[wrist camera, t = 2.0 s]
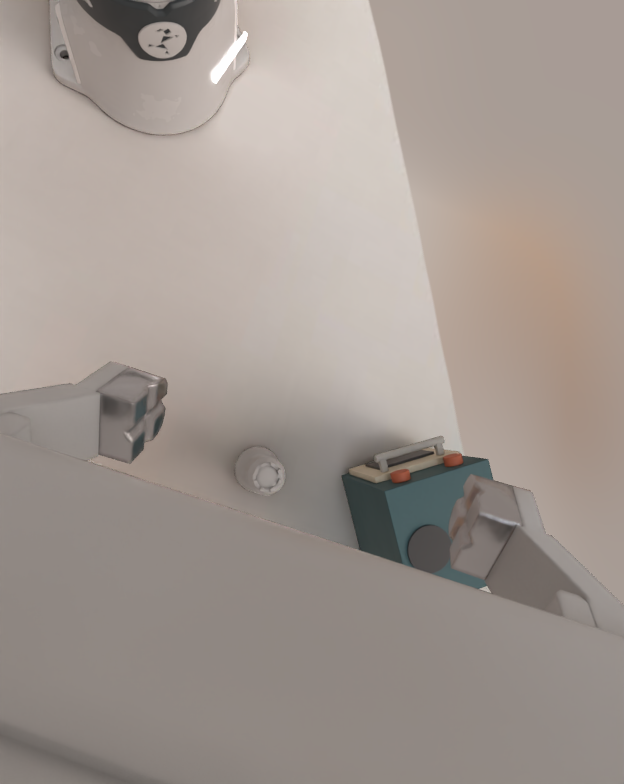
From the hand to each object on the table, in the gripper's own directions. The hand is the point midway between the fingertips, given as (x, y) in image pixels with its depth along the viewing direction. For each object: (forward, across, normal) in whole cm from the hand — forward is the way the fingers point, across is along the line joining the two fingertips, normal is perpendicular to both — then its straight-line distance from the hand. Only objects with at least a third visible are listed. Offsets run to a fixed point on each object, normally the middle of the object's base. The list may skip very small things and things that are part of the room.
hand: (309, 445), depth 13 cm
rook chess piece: (+28, +6, +24) cm, 38 cm away
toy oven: (+32, -8, +25) cm, 42 cm away
